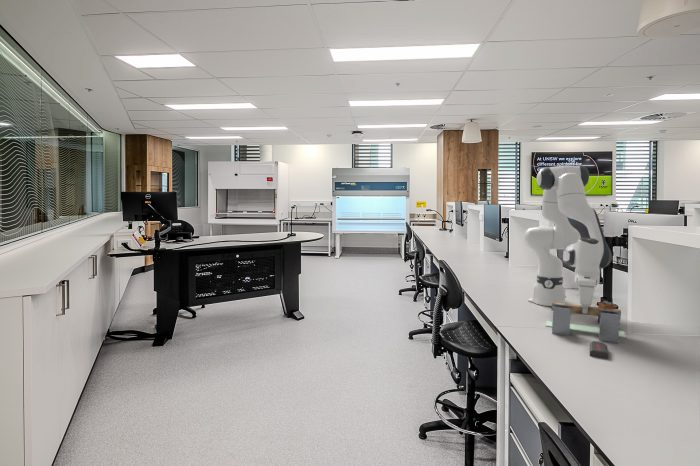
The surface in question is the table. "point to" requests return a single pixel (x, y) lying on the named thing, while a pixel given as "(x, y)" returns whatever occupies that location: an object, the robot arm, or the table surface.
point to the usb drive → (598, 350)
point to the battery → (605, 306)
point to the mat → (585, 329)
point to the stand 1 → (561, 319)
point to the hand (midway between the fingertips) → (584, 311)
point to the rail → (591, 310)
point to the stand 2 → (609, 326)
